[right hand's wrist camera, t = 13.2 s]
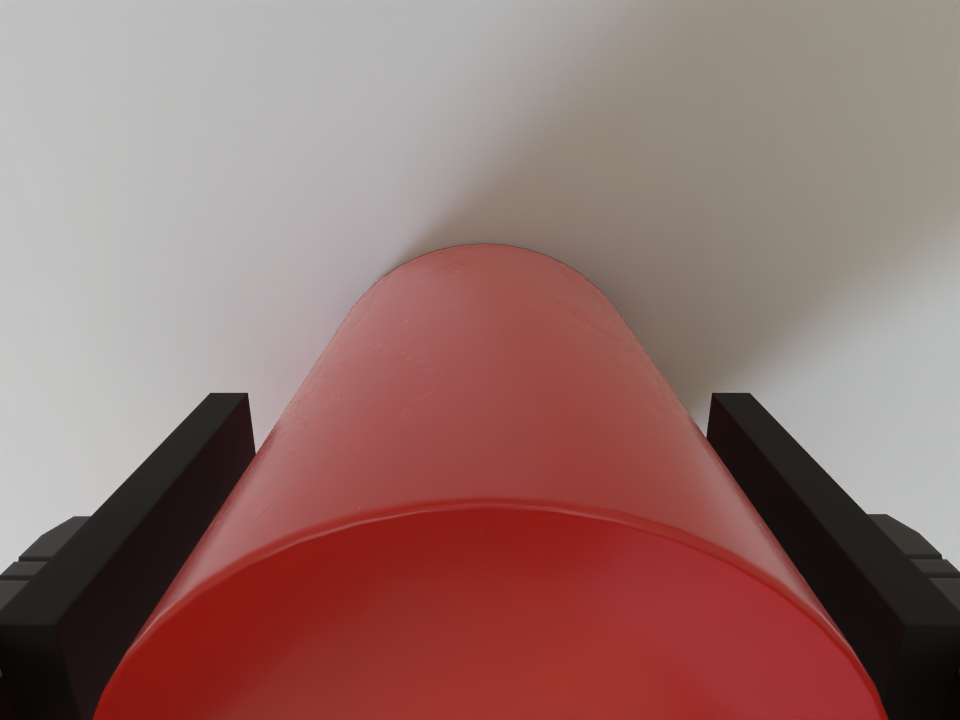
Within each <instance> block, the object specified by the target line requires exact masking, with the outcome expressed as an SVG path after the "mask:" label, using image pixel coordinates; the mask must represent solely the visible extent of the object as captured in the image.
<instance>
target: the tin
mask: <svg viewBox="0 0 960 720" xmlns="http://www.w3.org/2000/svg"><path fill="white" fill-rule="evenodd" d="M92 720H889V719H888V716H887V714H886V711H885V709H884V706H883V704H882V701H881V698H880V696H879V693H878V691H877V688H876V686H875V684H874V682H873V681H872V679H871V678H870V676H869V674H868V673H867V671H866V669H865V668H864V666H863V665H862V663H861V661H860V660H859V658H858V657H857V655H856V653H855V652H854V650H853V648H852V647H851V646H850V644H849V643H848V641H847V640H846V638H845V637H844V635H843V634H842V633H841V631H840V630H839V628H838V627H837V625H836V624H835V623H834V621H833V620H832V618H831V617H830V615H829V614H828V612H827V611H826V610H825V608H824V607H823V605H822V604H821V602H820V601H819V600H818V598H817V597H816V595H815V594H814V592H813V591H812V590H811V588H810V587H809V585H808V584H807V582H806V581H805V579H804V578H803V577H802V575H801V574H800V572H799V571H798V569H797V568H796V567H795V565H794V564H793V562H792V561H791V559H790V558H789V557H788V555H787V554H786V552H785V551H784V549H783V548H782V546H781V545H780V544H779V542H778V541H777V539H776V538H775V536H774V535H773V534H772V532H771V531H770V529H769V528H768V526H767V525H766V523H765V522H764V521H763V519H762V518H761V516H760V515H759V513H758V512H757V511H756V509H755V508H754V506H753V505H752V503H751V502H750V501H749V499H748V498H747V496H746V495H745V493H744V492H743V490H742V489H741V488H740V486H739V485H738V483H737V482H736V480H735V479H734V478H733V476H732V475H731V473H730V472H729V470H728V469H727V468H726V466H725V465H724V463H723V462H722V460H721V459H720V457H719V456H718V455H717V453H716V452H715V450H714V449H713V447H712V446H711V445H710V443H709V442H708V440H707V439H706V437H705V436H704V434H703V433H702V432H701V430H700V429H699V427H698V426H697V424H696V423H695V422H694V420H693V419H692V417H691V416H690V414H689V413H688V412H687V410H686V409H685V407H684V406H683V404H682V403H681V401H680V400H679V399H678V397H677V396H676V394H675V393H674V391H673V390H672V389H671V387H670V386H669V384H668V383H667V381H666V380H665V379H664V377H663V376H662V374H661V373H660V371H659V370H658V368H657V367H656V366H655V364H654V363H653V361H652V360H651V358H650V357H649V356H648V354H647V353H646V351H645V350H644V348H643V347H642V345H641V344H640V343H639V341H638V340H637V338H636V337H635V335H634V334H633V333H632V331H631V330H630V328H629V327H628V325H627V324H626V323H625V321H624V320H623V318H622V317H621V315H620V314H619V312H618V311H617V310H616V308H615V307H614V306H613V305H612V303H611V302H610V301H609V300H608V299H607V298H606V296H605V295H604V294H603V293H602V292H601V291H600V290H599V289H598V288H597V287H596V286H595V285H593V284H592V283H591V282H590V281H589V280H588V279H587V278H585V277H584V276H582V275H581V274H579V273H578V272H576V271H575V270H573V269H572V268H570V267H569V266H567V265H565V264H563V263H561V262H559V261H557V260H555V259H553V258H551V257H549V256H546V255H543V254H540V253H537V252H534V251H531V250H528V249H523V248H518V247H513V246H508V245H496V244H472V245H460V246H455V247H450V248H445V249H440V250H437V251H434V252H431V253H428V254H425V255H422V256H420V257H417V258H415V259H413V260H411V261H409V262H407V263H405V264H403V265H401V266H399V267H397V268H396V269H394V270H393V271H392V272H390V273H389V274H387V275H386V276H384V277H383V278H381V279H380V280H379V281H378V282H377V283H376V284H374V285H373V286H372V287H371V288H370V289H369V290H368V291H367V292H366V293H365V294H364V295H363V296H362V297H361V298H360V300H359V301H358V302H357V303H356V305H355V306H354V307H353V308H352V309H351V311H350V312H349V314H348V315H347V317H346V318H345V320H344V321H343V323H342V324H341V326H340V327H339V329H338V331H337V332H336V334H335V335H334V337H333V338H332V340H331V341H330V343H329V344H328V346H327V347H326V349H325V350H324V352H323V353H322V355H321V356H320V358H319V359H318V361H317V362H316V364H315V366H314V367H313V369H312V370H311V372H310V373H309V375H308V376H307V378H306V379H305V381H304V382H303V384H302V385H301V387H300V388H299V390H298V391H297V393H296V394H295V396H294V397H293V399H292V401H291V402H290V404H289V405H288V407H287V408H286V410H285V411H284V413H283V414H282V416H281V417H280V419H279V420H278V422H277V423H276V425H275V426H274V428H273V429H272V431H271V432H270V434H269V436H268V437H267V439H266V440H265V442H264V443H263V445H262V446H261V448H260V449H259V451H258V452H257V454H256V455H255V457H254V458H253V460H252V461H251V463H250V464H249V466H248V467H247V469H246V470H245V472H244V474H243V475H242V477H241V478H240V480H239V481H238V483H237V484H236V486H235V487H234V489H233V490H232V492H231V493H230V495H229V496H228V498H227V499H226V501H225V502H224V504H223V505H222V507H221V509H220V510H219V512H218V513H217V515H216V516H215V518H214V519H213V521H212V522H211V524H210V525H209V527H208V528H207V530H206V531H205V533H204V534H203V536H202V537H201V539H200V540H199V542H198V544H197V545H196V547H195V548H194V550H193V551H192V553H191V554H190V556H189V557H188V559H187V560H186V562H185V563H184V565H183V566H182V568H181V569H180V571H179V572H178V574H177V575H176V577H175V579H174V580H173V582H172V583H171V585H170V586H169V588H168V589H167V591H166V592H165V594H164V595H163V597H162V598H161V600H160V601H159V603H158V604H157V606H156V607H155V609H154V610H153V612H152V614H151V615H150V617H149V618H148V620H147V621H146V623H145V624H144V626H143V627H142V629H141V630H140V632H139V633H138V635H137V636H136V638H135V639H134V641H133V642H132V644H131V645H130V647H129V648H128V650H127V652H126V653H125V655H124V656H123V658H122V660H121V661H120V663H119V665H118V666H117V668H116V670H115V671H114V673H113V675H112V676H111V678H110V680H109V681H108V683H107V685H106V686H105V688H104V690H103V692H102V694H101V697H100V700H99V702H98V705H97V708H96V710H95V713H94V716H93V718H92Z"/></svg>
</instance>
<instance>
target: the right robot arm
mask: <svg viewBox="0 0 960 720" xmlns="http://www.w3.org/2000/svg"><path fill="white" fill-rule="evenodd" d="M706 439H707V440H708V442H709V443H710V445H711V446H712V447H713V449H714V450H715V452H716V453H717V455H718V456H719V457H720V459H721V460H722V462H723V463H724V465H725V466H726V468H727V469H728V470H729V472H730V473H731V475H732V476H733V478H734V479H735V480H736V482H737V483H738V485H739V486H740V488H741V489H742V490H743V492H744V493H745V495H746V496H747V498H748V499H749V501H750V502H751V503H752V505H753V506H754V508H755V509H756V511H757V512H758V513H759V515H760V516H761V518H762V519H763V521H764V522H765V523H766V525H767V526H768V528H769V529H770V531H771V532H772V534H773V535H774V536H775V538H776V539H777V541H778V542H779V544H780V545H781V546H782V548H783V549H784V551H785V552H786V554H787V555H788V557H789V558H790V559H791V561H792V562H793V564H794V565H795V567H796V568H797V569H798V571H799V572H800V574H801V575H802V577H803V578H804V579H805V581H806V582H807V584H808V585H809V587H810V588H811V590H812V591H813V592H814V594H815V595H816V597H817V598H818V600H819V601H820V602H821V604H822V605H823V607H824V608H825V610H826V611H827V612H828V614H829V615H830V617H831V618H832V620H833V621H834V623H835V624H836V625H837V627H838V628H839V630H840V631H841V633H842V634H843V635H844V637H845V638H846V640H847V641H848V643H849V644H850V646H851V647H852V648H853V650H854V652H855V653H856V655H857V657H858V658H859V660H860V661H861V663H862V665H863V666H864V668H865V669H866V671H867V673H868V674H869V676H870V678H871V679H872V681H873V682H874V684H875V686H876V688H877V691H878V693H879V696H880V698H881V701H882V704H883V706H884V709H885V711H886V714H887V716H888V719H889V720H960V572H959V571H958V570H957V569H956V568H955V567H954V566H953V565H952V564H951V563H950V562H949V561H948V560H947V559H942V555H941V554H940V553H939V552H938V551H937V550H936V549H935V548H934V547H933V546H932V545H931V544H930V543H929V542H928V541H927V540H926V539H925V538H924V537H922V536H921V535H920V534H919V533H918V532H916V531H914V530H913V529H911V528H909V527H908V526H906V525H904V524H902V523H901V522H899V521H897V520H895V519H894V518H892V517H890V516H889V515H887V514H866V513H865V512H864V511H863V510H862V509H861V508H860V507H859V506H858V505H857V504H856V503H855V502H854V501H853V499H852V498H851V497H850V496H849V495H848V494H847V493H846V492H845V491H844V490H843V489H842V488H841V487H840V486H839V485H838V484H837V483H836V482H835V481H834V480H833V479H832V478H831V477H830V476H829V475H828V474H827V473H826V472H825V470H824V469H823V468H822V467H821V466H820V465H819V464H818V463H817V462H816V461H815V460H814V459H813V458H812V457H811V456H810V455H809V454H808V453H807V452H806V451H805V450H804V449H803V448H802V447H801V446H800V445H799V444H798V443H797V442H796V440H795V439H794V438H793V437H792V436H791V435H790V434H789V433H788V432H787V431H786V430H785V429H784V428H783V427H782V426H781V425H780V424H779V423H778V422H777V421H776V420H775V419H774V418H773V417H772V416H771V415H770V414H769V413H768V411H767V410H766V409H765V408H764V407H763V406H762V405H761V404H760V403H759V402H758V401H757V400H756V399H755V398H754V397H753V396H752V395H751V394H750V393H712V399H711V406H710V414H709V422H708V430H707V437H706ZM255 455H256V453H255V445H254V437H253V429H252V422H251V414H250V406H249V399H248V393H210V394H209V395H208V396H207V397H206V398H205V399H204V400H203V401H202V402H201V403H200V404H199V405H198V406H197V407H196V408H195V409H194V410H193V411H192V413H191V414H190V415H189V416H188V417H187V418H186V419H185V420H184V421H183V422H182V423H181V424H180V425H179V426H178V427H177V428H176V429H175V430H174V431H173V432H172V433H171V434H170V435H169V436H168V437H167V438H166V439H165V440H164V442H163V443H162V444H161V445H160V446H159V447H158V448H157V449H156V450H155V451H154V452H153V453H152V454H151V455H150V456H149V457H148V458H147V459H146V460H145V461H144V462H143V463H142V464H141V465H140V466H139V467H138V468H137V469H136V471H135V472H134V473H133V474H132V475H131V476H130V477H129V478H128V479H127V480H126V481H125V482H124V483H123V484H122V485H121V486H120V487H119V488H118V489H117V490H116V491H115V492H114V493H113V494H112V495H111V496H110V497H109V498H108V500H107V501H106V502H105V503H104V504H103V505H102V506H101V507H100V508H99V509H98V510H97V511H96V512H95V513H94V514H93V515H92V516H74V517H72V518H71V519H69V520H67V521H65V522H64V523H62V524H60V525H59V526H57V527H55V528H53V529H52V530H50V531H48V532H47V533H45V534H43V535H42V536H40V537H39V538H38V539H37V540H36V541H35V542H34V543H33V544H32V545H31V546H30V547H29V548H28V549H27V550H26V551H25V552H24V553H23V554H22V555H21V556H20V557H19V561H18V562H13V563H12V564H11V565H10V566H9V567H8V568H7V569H6V570H5V571H4V572H3V573H2V574H1V575H0V720H92V718H93V716H94V713H95V710H96V708H97V705H98V702H99V700H100V697H101V694H102V692H103V690H104V688H105V686H106V685H107V683H108V681H109V680H110V678H111V676H112V675H113V673H114V671H115V670H116V668H117V666H118V665H119V663H120V661H121V660H122V658H123V656H124V655H125V653H126V652H127V650H128V648H129V647H130V645H131V644H132V642H133V641H134V639H135V638H136V636H137V635H138V633H139V632H140V630H141V629H142V627H143V626H144V624H145V623H146V621H147V620H148V618H149V617H150V615H151V614H152V612H153V610H154V609H155V607H156V606H157V604H158V603H159V601H160V600H161V598H162V597H163V595H164V594H165V592H166V591H167V589H168V588H169V586H170V585H171V583H172V582H173V580H174V579H175V577H176V575H177V574H178V572H179V571H180V569H181V568H182V566H183V565H184V563H185V562H186V560H187V559H188V557H189V556H190V554H191V553H192V551H193V550H194V548H195V547H196V545H197V544H198V542H199V540H200V539H201V537H202V536H203V534H204V533H205V531H206V530H207V528H208V527H209V525H210V524H211V522H212V521H213V519H214V518H215V516H216V515H217V513H218V512H219V510H220V509H221V507H222V505H223V504H224V502H225V501H226V499H227V498H228V496H229V495H230V493H231V492H232V490H233V489H234V487H235V486H236V484H237V483H238V481H239V480H240V478H241V477H242V475H243V474H244V472H245V470H246V469H247V467H248V466H249V464H250V463H251V461H252V460H253V458H254V457H255Z"/></svg>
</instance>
